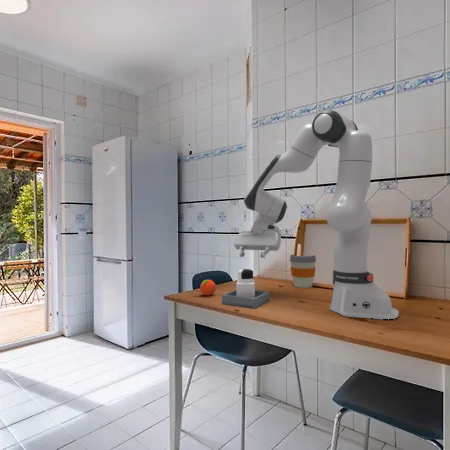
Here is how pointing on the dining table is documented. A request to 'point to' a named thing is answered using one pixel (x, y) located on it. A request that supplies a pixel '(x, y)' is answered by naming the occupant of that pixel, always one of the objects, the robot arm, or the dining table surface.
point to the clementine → (207, 287)
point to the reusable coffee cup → (303, 270)
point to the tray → (246, 299)
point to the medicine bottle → (245, 284)
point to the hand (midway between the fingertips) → (251, 256)
